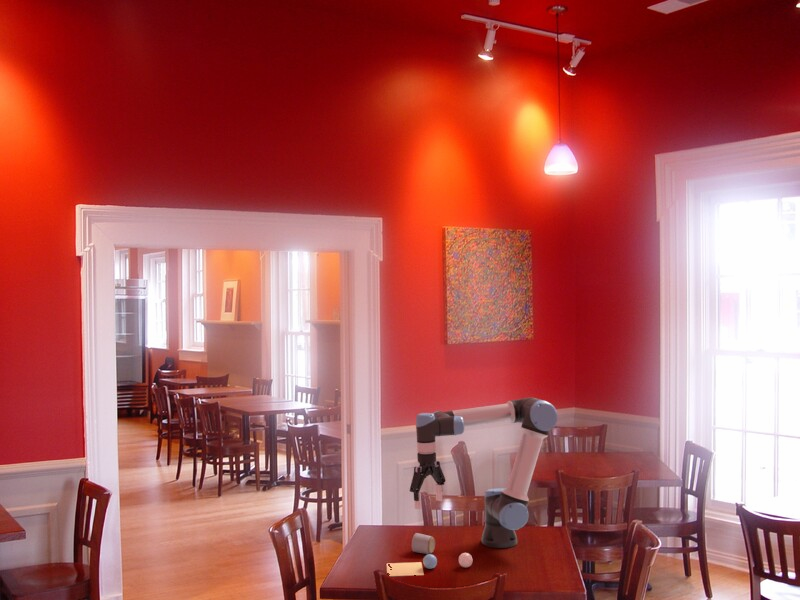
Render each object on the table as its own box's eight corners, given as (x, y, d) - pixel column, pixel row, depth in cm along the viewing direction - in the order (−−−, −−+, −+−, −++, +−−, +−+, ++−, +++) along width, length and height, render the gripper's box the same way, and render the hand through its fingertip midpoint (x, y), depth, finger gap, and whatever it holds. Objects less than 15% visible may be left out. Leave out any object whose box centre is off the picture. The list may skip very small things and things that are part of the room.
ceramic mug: (429, 556, 319) (429, 537, 319) (411, 554, 322) (410, 535, 323) (439, 549, 329) (438, 531, 329) (421, 547, 332) (421, 528, 332)
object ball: (436, 565, 308) (436, 551, 308) (437, 570, 303) (437, 556, 303) (422, 566, 308) (422, 552, 308) (423, 571, 302) (423, 557, 302)
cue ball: (471, 564, 309) (471, 550, 309) (473, 569, 303) (473, 555, 303) (458, 564, 308) (457, 551, 308) (459, 569, 303) (459, 555, 303)
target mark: (421, 562, 312) (421, 562, 312) (423, 575, 298) (423, 574, 298) (386, 563, 312) (386, 563, 312) (387, 576, 298) (387, 576, 298)
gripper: (438, 445, 325) (440, 496, 325) (399, 456, 306) (401, 510, 307) (452, 447, 320) (454, 498, 321) (414, 459, 301) (416, 513, 302)
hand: (428, 504), depth 314 cm, fingers open, 13 cm apart
